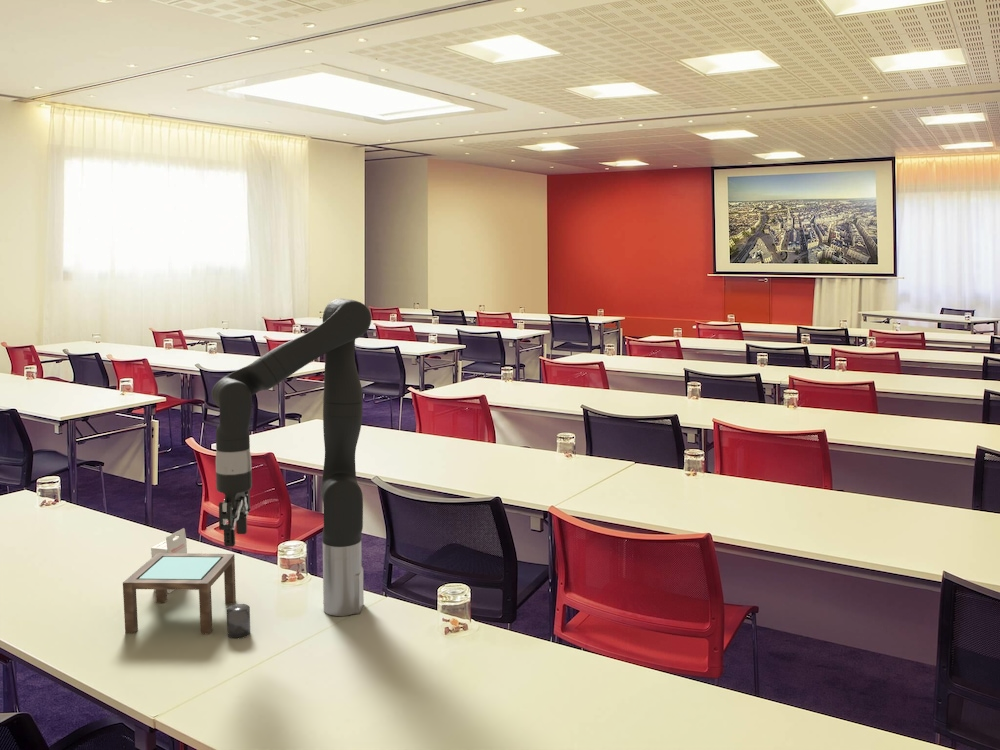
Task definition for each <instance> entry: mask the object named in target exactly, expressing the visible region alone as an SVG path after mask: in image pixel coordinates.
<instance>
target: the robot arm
mask: <svg viewBox="0 0 1000 750" xmlns="http://www.w3.org/2000/svg"><path fill="white" fill-rule="evenodd" d="M371 323H372V314H371V311H370V310H369V308H368V307H367V306H366V305H365V304H364V303H362V302H360V301H357V300H353V299H347V298H336V299H334V300H331V301H330V302H329V303H328V304H327V305H326V306H325V308H324V311H323V315H322V323H321V324H319V325H318V326H317V327H315V328H313V329H312V330H310V331H308V332H307V333H304V334H302V335H300V336H298V337H295V338H294V339H291V340H289V341H286V342H284V343H282V344H279V345H278V346H276V347H274V348H272V349H271V350H270V351H268V352H266V353H265V354H264V355H261V356H260V357H259V358H257V359H255V360H254V361H253V362H251V363H250V364H248V365H246V366H244V367H242V368H239V369H237V370H236V371H233V372H231V373H228V374H227V375H225V376H223V377H222V378H220V379H219V380H218V381H217V382H216V383H215V384H214V386H213V387H212V390H211V399H212V401H213V403H214V404H215V405H216V406H217V407H218V408H219V424H218V425H217V426H216V429H215V430H216V431H215V449H216V453H215V479H216V480H215V481H216V482H215V483H216V485H215V486H216V491H217V492H219V493H222V494H224V499H223V501H222V502H221V501H220V502H219V503H218V528H219V529H218V530H220V531H221V530H222V531H223V545H224V547H229V548H230V547H231V548H232V547H234V546H235V545H236V534H237V535H245V534H247V532H248V522H247V521H248V519H247V517H248V516H249V513H250V511H251V497H250V496H251V495H250V492H251V489H252V488H253V473H252V467H253V466H252V455H251V454H252V453H251V448H250V447H251V445H250V444H251V443H250V441H251V440H250V423H251V417H252V409H253V397H252V396H254V395H256V394H258V392H260V391H267V390H270V389H272V388H273V387H275V386H277V385H278V384H280V383H282V382H283V381H284V380H285V379H287V378H289V377H290V376H292V375H293V374H294V373H296V372H298V371H299V370H301V369H302V368H304V367H305V366H307V365H309V364H310V363H312V362H313V361H315V360H316V359H318V358H320V357H322V356H324V373H323V374H324V376H323V377H324V378H323V383H324V384H323V397H322V398H323V402H322V412H323V413H322V423H323V424H322V425H323V427H322V429H323V443H324V462H323V471H322V479H321V485H320V491H319V492H320V498H321V500H322V503H323V504H322V505H323V529H322V532H321V533H322V534H321V535H322V536H321V537H322V539H321V540H322V576H323V577H322V587H323V588H322V590H323V591H322V594H323V595H322V596H323V598H322V599H323V601H322V602H323V603H322V604H323V612H324V613H326V614H327V615H330V616H335V617H345V616H351V615H354V614H355V615H356V614H361V611H362V608H363V606H364V600H365V599H364V598H365V597H364V567H363V566H362V564H363V563H362V532H363V527H364V521H363V520H364V499H363V498H364V497H363V496H364V495H363V492H362V488H361V486H360V485H359V483H358V481H357V472H356V450H357V444H358V441H359V437H360V433H361V429H362V424H363V422H362V421H363V407H364V402H363V401H364V398H363V397H364V396H363V387H362V384H361V379H360V375H359V372H358V368H357V364H356V356H355V350H356V349H355V347H356V346H355V345H356V340H357V339H359V338H361V337H363V336H364V335H365V334H366V333H367V332H368V331H369V329H370V326H371Z"/></svg>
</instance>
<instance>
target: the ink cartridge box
mask: <svg viewBox="0 0 1000 750" xmlns="http://www.w3.org/2000/svg"><path fill="white" fill-rule="evenodd" d="M187 544H188V543H187V537H186V529H185V528H184V527H183V528H181V529H180V530H177V531H175V532H174V533H171V534H170V535H168V536H166V538H165V540H164V541H161V542H160V543H158V544H155V545H154V546H152V547H150V550H151V552H150V554H151V558H152V557H153V556H155V555H156V554H157V553H188V548H187V546H188V545H187ZM173 591H175V590H172V589H167V594H168V593H172V592H173ZM153 592H155V593H156V589H153Z"/></svg>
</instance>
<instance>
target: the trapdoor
mask: <svg viewBox="0 0 1000 750" xmlns="http://www.w3.org/2000/svg"><path fill="white" fill-rule="evenodd" d="M220 560H221V557H163V558H162V559H160V560H159V561H158V562H157V563H156V564H155V565H154V566H152V567H151V568H150V569H149V570H148V571H147V572H146V573H144V574H143V575H142V576H141V577H140V578H139V579H154V580H202V579H203V578H204V577H205V576H206V575H207V574H208V573H209V572H210V571H211V570H212V569H213V568H214V566H215V565H216V564H217V563H218V562H219V561H220Z"/></svg>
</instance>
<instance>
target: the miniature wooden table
mask: <svg viewBox="0 0 1000 750" xmlns="http://www.w3.org/2000/svg"><path fill="white" fill-rule="evenodd" d="M163 557H221V560H220V561H219V562H218V563H217V564H216V565H215V566H214V568H213V569H212V570H211V571H210V572H209V573H208V574H207V575H206V576H205V577H204V578H203V579H202V580H154V579H139V578H140V577H141V576H142V575H143V574H144V573H146V572H147V571H148V570H149V569H150V568H151V567H152V566H154V565H155V564H156V563H157V562H158V561H159V560H160V559H162V558H163ZM235 560H236V559H235V553H188V552H187V553H157V554H156V555H155V556H153V557H152V556H151V558H150V559H149V560H148V561H146V562H145V563H144V564H142V566H140V568H138V569H137V570H136V571H134V572H133V573H132V574H131V575H130V576H128V577H127V578H126V579H124V581H123V582H122V591H123V592H122V595H123V611H124V613H123V615H124V616H123V618H124V633H125V634H135V633H136V632H138V630H139V625H138V624H139V621H138V619H139V618H138V607H137V606H138V603H137V602H138V601H137V590H154V589H156V592H155V603H156V604H157V603H158V604H161V603H163V604H164V603H166V602H167V600H168V593H167V589H172V590H174V591H175V590H182V591H185V590H187V591H189V590H192V591H198V599H199V601H198V602H199V622H200V623H199V624H200V626H199V629H200V635H211V633H213V632H212V631H213V610H212V609H213V607H212V606H213V605H212V604H213V603H212V602H213V601H212V586H213V585H214V584H215V583H216V582H217V580H218V579H219V578H220V577H221V576H222V575H224V576H223V579H224V603H225V604H234V603H235V602H236V601H237V598H236V595H237V594H236V564H235Z"/></svg>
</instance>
